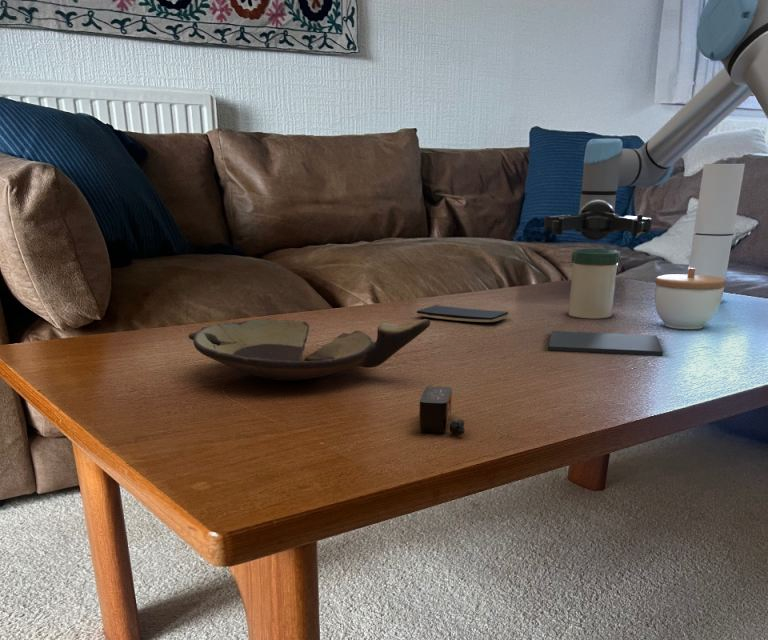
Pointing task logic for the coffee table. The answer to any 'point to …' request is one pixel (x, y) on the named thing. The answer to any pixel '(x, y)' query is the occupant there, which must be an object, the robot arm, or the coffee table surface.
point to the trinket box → (687, 299)
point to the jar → (592, 290)
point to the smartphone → (462, 314)
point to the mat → (605, 343)
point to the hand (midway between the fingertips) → (597, 227)
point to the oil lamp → (298, 348)
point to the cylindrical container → (716, 219)
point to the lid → (596, 256)
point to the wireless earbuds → (437, 411)
